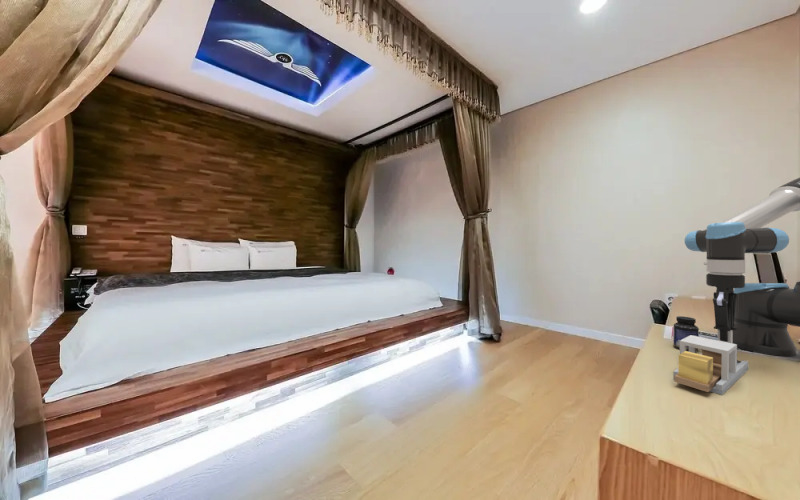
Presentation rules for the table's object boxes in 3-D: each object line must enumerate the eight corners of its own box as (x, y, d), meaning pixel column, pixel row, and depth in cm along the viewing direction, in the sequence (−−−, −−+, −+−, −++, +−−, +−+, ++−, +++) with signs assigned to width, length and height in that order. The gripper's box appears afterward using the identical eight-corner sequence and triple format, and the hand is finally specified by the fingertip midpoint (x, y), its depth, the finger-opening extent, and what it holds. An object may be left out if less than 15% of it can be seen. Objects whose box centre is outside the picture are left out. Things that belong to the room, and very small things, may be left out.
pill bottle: (703, 353, 93) (704, 320, 93) (682, 351, 94) (682, 319, 94) (688, 346, 99) (689, 316, 99) (668, 345, 100) (669, 315, 100)
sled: (701, 362, 82) (701, 339, 82) (732, 370, 77) (732, 346, 77) (674, 381, 72) (674, 354, 71) (708, 392, 66) (708, 363, 66)
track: (704, 358, 88) (705, 327, 88) (748, 369, 81) (748, 335, 81) (673, 379, 75) (673, 343, 75) (721, 395, 67) (722, 354, 67)
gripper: (712, 271, 89) (713, 342, 90) (700, 274, 83) (700, 351, 83) (749, 272, 83) (749, 350, 83) (739, 276, 76) (739, 360, 77)
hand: (725, 350), depth 83 cm, fingers closed
